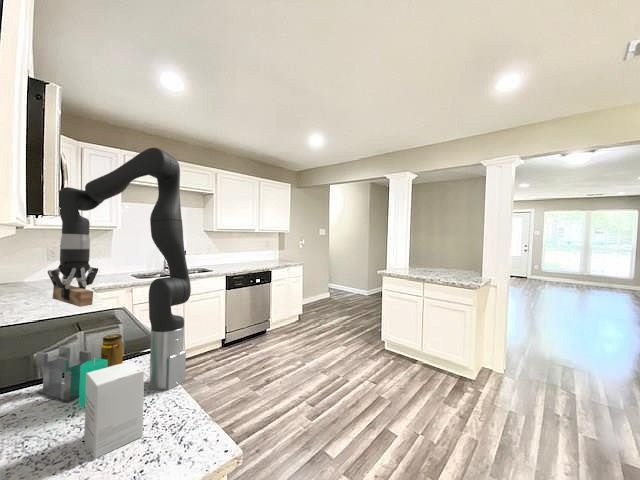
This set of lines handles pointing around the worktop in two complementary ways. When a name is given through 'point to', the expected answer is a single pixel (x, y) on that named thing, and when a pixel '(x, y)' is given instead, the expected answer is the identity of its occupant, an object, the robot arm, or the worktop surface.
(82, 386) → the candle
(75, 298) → the rail
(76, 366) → the rack
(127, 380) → the supplement box
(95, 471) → the worktop surface
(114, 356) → the condiment
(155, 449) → the worktop surface
